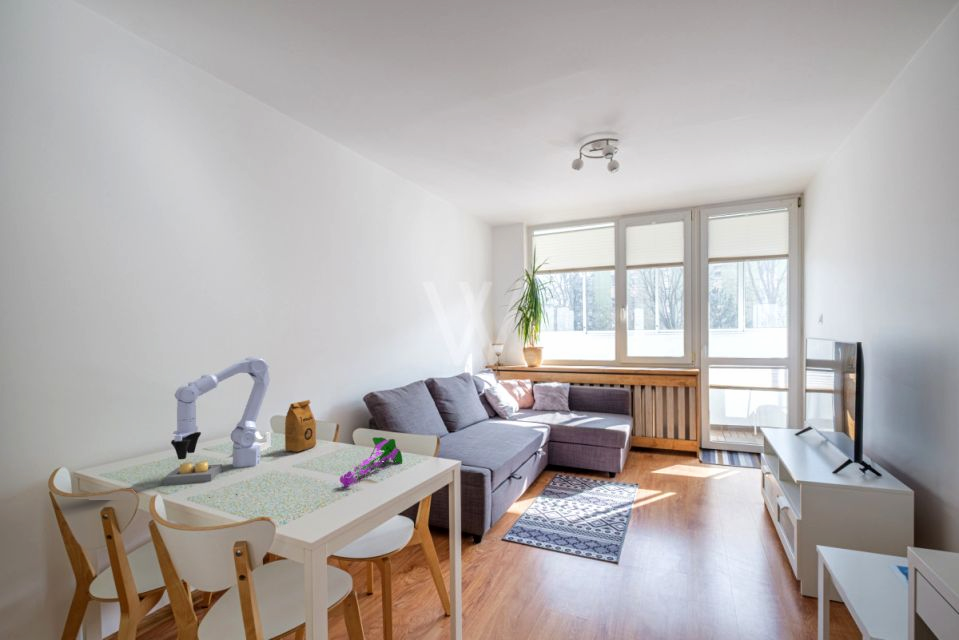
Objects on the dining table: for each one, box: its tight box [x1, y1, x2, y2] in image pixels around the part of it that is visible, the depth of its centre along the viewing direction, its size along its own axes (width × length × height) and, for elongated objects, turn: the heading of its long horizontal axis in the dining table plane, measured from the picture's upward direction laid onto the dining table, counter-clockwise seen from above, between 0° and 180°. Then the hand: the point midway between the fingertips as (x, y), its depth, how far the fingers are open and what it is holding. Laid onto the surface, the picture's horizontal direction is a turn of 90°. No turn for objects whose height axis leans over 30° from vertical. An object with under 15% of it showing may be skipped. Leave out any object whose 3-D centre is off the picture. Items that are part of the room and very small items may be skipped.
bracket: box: [253, 430, 272, 452], centre depth 195 cm, size 13×7×8 cm, turn 168°
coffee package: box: [284, 399, 317, 453], centre depth 198 cm, size 10×12×22 cm
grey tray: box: [162, 463, 223, 486], centre depth 158 cm, size 15×11×4 cm
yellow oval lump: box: [179, 461, 194, 474], centre depth 158 cm, size 4×4×5 cm
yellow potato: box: [194, 461, 209, 473], centre depth 159 cm, size 4×4×5 cm
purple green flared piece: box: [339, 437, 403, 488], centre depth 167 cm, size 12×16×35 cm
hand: (186, 455), depth 158 cm, fingers open, 7 cm apart
